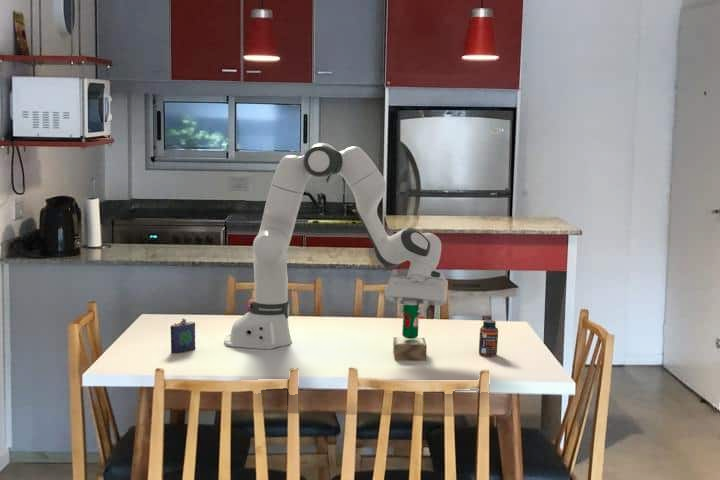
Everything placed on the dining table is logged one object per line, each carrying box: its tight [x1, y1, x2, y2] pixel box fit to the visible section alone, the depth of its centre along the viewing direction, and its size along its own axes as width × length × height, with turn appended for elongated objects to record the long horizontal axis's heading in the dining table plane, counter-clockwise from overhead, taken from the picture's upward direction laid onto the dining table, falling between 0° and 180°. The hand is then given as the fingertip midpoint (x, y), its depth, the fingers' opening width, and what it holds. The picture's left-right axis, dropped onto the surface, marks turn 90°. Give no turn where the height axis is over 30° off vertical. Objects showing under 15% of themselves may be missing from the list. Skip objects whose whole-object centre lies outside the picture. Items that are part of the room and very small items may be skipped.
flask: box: [170, 318, 196, 355], centre depth 299 cm, size 9×3×11 cm, turn 138°
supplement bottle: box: [478, 319, 499, 357], centre depth 304 cm, size 6×6×11 cm
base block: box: [392, 336, 428, 362], centre depth 300 cm, size 10×10×5 cm
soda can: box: [401, 299, 420, 339], centre depth 298 cm, size 5×5×12 cm
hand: (410, 312), depth 298 cm, fingers closed on soda can, 5 cm apart
